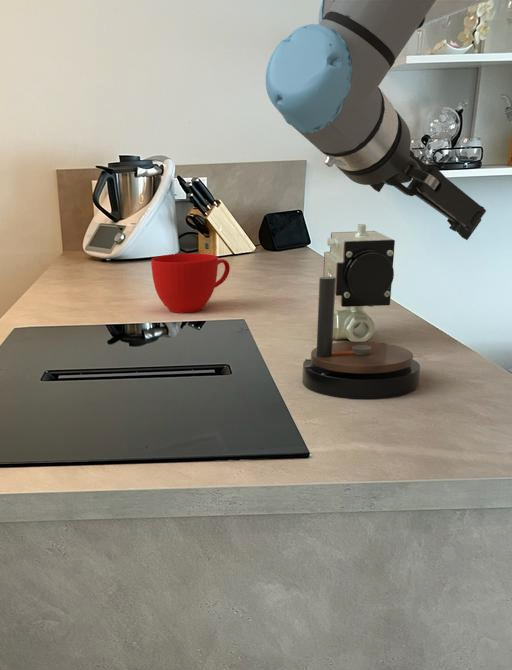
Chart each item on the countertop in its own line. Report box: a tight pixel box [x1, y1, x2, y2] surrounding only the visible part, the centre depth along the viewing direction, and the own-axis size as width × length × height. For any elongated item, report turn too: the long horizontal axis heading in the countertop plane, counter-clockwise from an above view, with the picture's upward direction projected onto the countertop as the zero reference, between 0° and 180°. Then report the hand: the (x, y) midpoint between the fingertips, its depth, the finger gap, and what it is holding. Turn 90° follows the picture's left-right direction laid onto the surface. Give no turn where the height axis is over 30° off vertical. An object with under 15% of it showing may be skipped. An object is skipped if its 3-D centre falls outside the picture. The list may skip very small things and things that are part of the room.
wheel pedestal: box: [302, 356, 421, 400], centre depth 104 cm, size 15×15×3 cm
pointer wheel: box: [310, 276, 414, 374], centre depth 101 cm, size 13×13×11 cm
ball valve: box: [322, 223, 396, 342], centre depth 124 cm, size 18×8×18 cm, turn 177°
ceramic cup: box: [150, 253, 231, 314], centre depth 155 cm, size 13×17×10 cm
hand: (426, 204), depth 97 cm, fingers open, 13 cm apart
